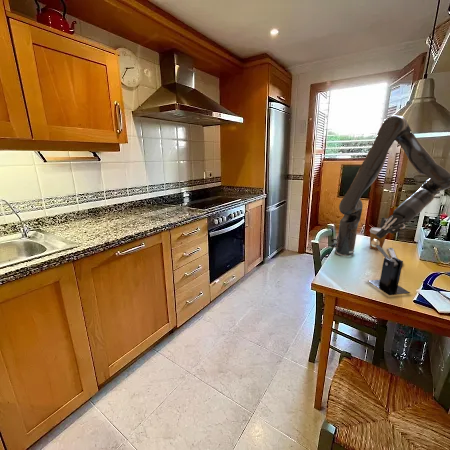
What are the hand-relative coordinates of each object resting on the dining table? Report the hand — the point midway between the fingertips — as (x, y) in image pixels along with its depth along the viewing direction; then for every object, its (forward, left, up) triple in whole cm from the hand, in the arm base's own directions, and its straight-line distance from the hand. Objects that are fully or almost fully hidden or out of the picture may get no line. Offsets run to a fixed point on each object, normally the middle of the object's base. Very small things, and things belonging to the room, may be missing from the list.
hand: (378, 236), depth 110 cm
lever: (+4, -1, -7) cm, 8 cm away
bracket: (+11, -1, -20) cm, 23 cm away
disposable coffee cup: (-32, +30, -20) cm, 48 cm away
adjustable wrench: (-17, +29, -20) cm, 39 cm away
